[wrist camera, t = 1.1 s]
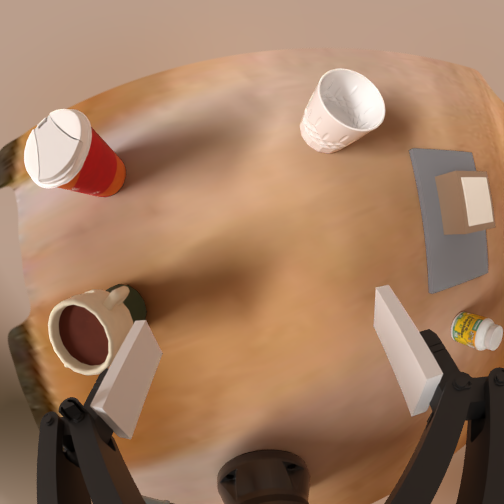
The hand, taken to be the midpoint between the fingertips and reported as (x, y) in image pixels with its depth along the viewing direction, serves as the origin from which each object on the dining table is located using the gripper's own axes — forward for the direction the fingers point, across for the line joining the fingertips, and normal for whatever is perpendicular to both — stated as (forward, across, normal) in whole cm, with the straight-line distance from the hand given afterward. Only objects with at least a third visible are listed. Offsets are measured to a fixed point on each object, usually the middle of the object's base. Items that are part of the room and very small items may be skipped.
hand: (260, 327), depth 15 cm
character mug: (+14, +19, +7) cm, 24 cm away
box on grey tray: (+25, -31, +6) cm, 41 cm away
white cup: (+27, -10, -8) cm, 30 cm away
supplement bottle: (+18, -31, +24) cm, 43 cm away
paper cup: (+21, +18, -9) cm, 29 cm away
